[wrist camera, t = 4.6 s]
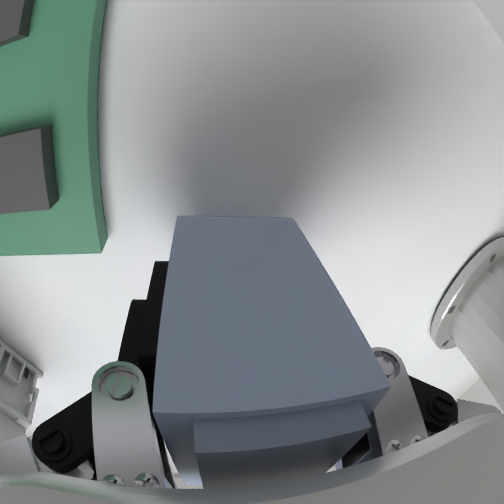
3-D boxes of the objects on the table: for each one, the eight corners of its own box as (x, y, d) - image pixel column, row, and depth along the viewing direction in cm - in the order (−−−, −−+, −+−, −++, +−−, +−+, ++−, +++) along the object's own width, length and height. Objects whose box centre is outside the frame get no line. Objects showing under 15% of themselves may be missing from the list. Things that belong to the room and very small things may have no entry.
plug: (292, 218, 10) (404, 412, 4) (273, 324, 13) (321, 487, 6) (177, 215, 10) (151, 447, 3) (183, 326, 12) (186, 502, 6)
